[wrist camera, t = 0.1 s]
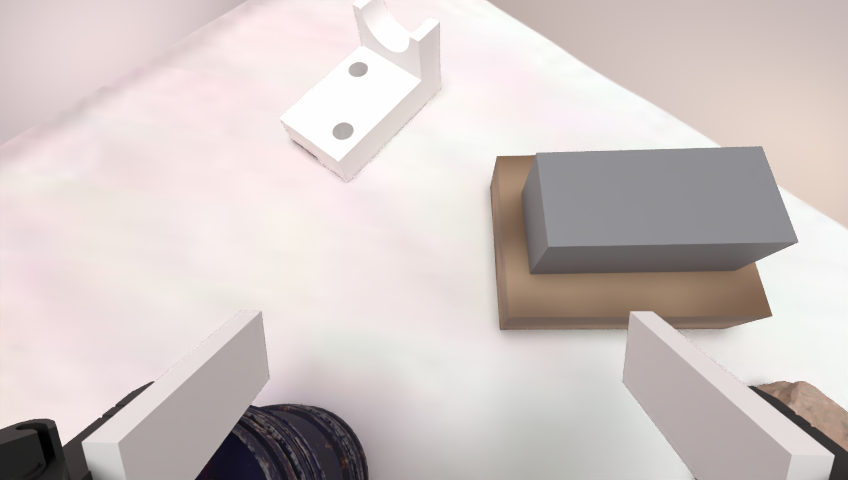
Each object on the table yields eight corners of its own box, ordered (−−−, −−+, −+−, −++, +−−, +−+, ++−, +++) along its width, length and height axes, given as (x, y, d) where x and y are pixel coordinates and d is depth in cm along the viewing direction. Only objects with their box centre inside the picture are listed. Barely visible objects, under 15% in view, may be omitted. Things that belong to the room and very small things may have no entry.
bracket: (385, 58, 41) (373, -14, 34) (440, 91, 39) (439, 22, 32) (293, 143, 37) (258, 82, 30) (348, 184, 35) (324, 129, 28)
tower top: (734, 271, 26) (798, 242, 21) (530, 274, 26) (548, 246, 22) (709, 188, 28) (761, 146, 23) (521, 193, 28) (536, 152, 24)
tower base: (720, 329, 29) (772, 315, 24) (499, 330, 30) (509, 317, 25) (681, 185, 34) (718, 151, 29) (489, 189, 34) (496, 156, 30)
